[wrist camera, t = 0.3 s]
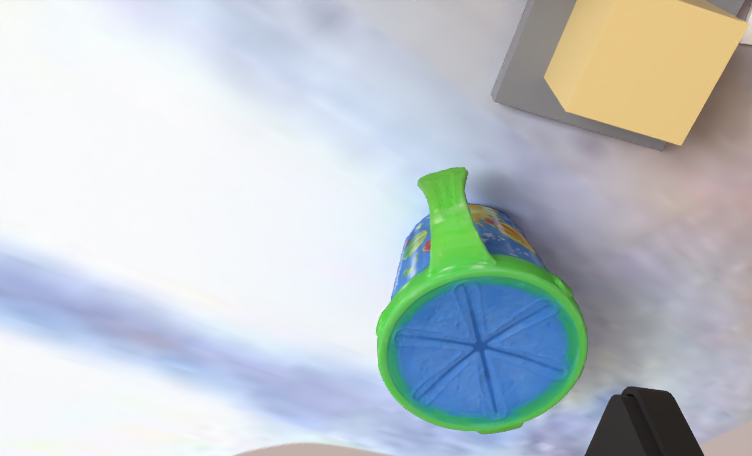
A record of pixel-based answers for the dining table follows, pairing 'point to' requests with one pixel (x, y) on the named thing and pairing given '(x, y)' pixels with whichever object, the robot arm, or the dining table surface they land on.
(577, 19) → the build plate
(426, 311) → the snack cup
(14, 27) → the dining table surface
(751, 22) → the tile
